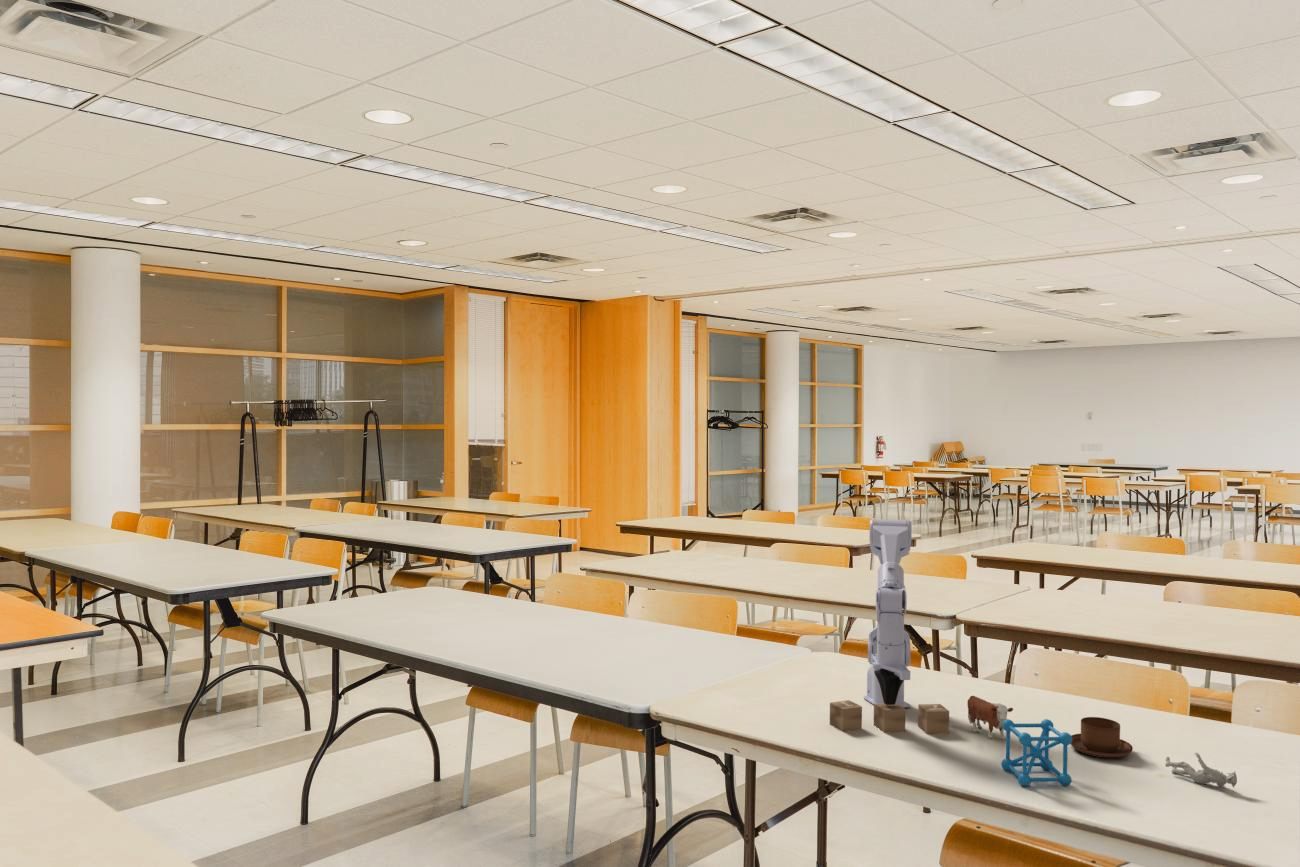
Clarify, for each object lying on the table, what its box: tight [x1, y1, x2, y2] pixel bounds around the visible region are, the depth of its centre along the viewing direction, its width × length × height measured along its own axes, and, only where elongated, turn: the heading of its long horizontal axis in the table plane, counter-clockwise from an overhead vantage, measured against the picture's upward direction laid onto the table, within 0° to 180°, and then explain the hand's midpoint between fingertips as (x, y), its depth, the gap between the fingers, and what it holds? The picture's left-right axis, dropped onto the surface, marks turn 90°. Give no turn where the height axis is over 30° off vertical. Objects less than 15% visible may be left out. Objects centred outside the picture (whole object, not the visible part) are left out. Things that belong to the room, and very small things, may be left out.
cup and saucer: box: [1070, 716, 1133, 759], centre depth 196 cm, size 12×12×6 cm
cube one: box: [829, 699, 863, 732], centre depth 210 cm, size 5×5×5 cm
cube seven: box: [917, 703, 950, 735], centre depth 208 cm, size 5×5×5 cm
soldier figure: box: [1164, 752, 1238, 788], centre depth 179 cm, size 8×5×12 cm
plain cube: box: [873, 703, 906, 734], centre depth 209 cm, size 5×5×5 cm
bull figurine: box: [967, 695, 1014, 741], centre depth 205 cm, size 4×13×8 cm, turn 16°
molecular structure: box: [1000, 718, 1073, 787], centre depth 181 cm, size 10×10×10 cm
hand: (889, 703), depth 209 cm, fingers closed
